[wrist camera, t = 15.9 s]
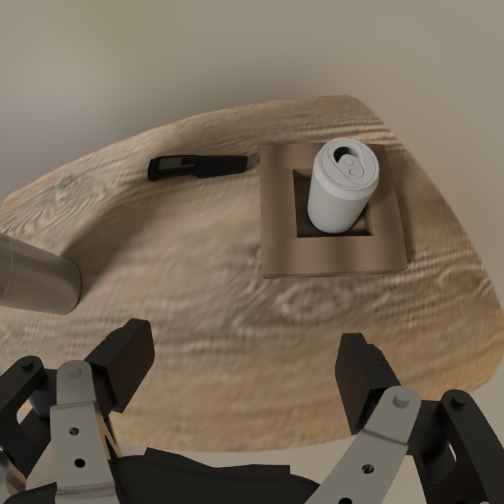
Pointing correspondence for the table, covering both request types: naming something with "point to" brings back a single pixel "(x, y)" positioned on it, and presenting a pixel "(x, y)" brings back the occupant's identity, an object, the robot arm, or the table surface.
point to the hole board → (324, 248)
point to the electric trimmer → (196, 166)
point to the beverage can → (341, 184)
